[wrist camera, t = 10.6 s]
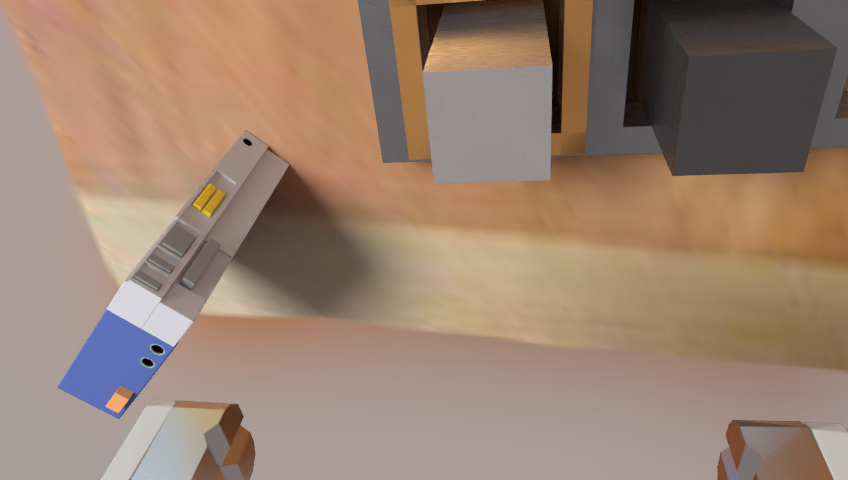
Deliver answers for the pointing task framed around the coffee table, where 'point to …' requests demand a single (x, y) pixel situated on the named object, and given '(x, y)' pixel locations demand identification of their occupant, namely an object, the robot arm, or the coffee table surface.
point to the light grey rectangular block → (490, 93)
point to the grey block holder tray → (565, 77)
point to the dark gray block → (730, 84)
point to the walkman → (174, 280)
